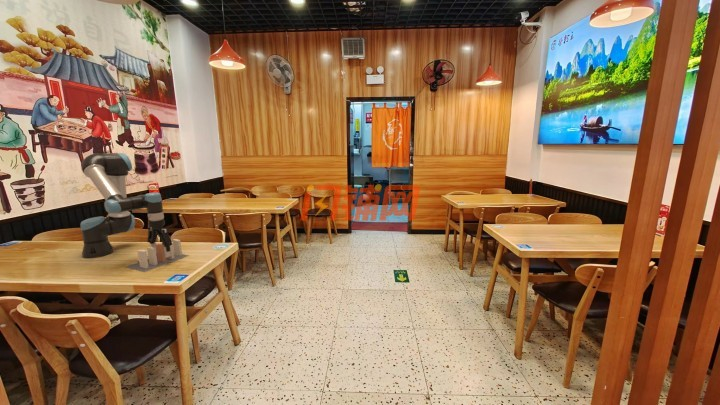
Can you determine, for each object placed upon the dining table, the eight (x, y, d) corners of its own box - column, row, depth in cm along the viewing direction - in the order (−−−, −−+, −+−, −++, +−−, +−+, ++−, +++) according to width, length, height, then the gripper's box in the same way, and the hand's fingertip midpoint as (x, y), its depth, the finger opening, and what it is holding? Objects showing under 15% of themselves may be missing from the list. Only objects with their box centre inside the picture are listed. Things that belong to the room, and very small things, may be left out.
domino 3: (160, 259, 174) (158, 244, 172) (166, 261, 172) (164, 245, 170) (158, 260, 173) (155, 244, 171) (163, 262, 171) (161, 245, 169)
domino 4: (171, 259, 175) (169, 243, 173) (166, 257, 177) (164, 242, 175) (174, 258, 177) (172, 242, 175) (169, 257, 179) (166, 241, 177)
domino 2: (154, 265, 166) (152, 248, 164) (149, 263, 168) (146, 247, 166) (157, 264, 168) (155, 247, 166) (152, 262, 170) (149, 246, 168)
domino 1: (145, 268, 162) (143, 251, 160) (140, 267, 164) (137, 250, 162) (148, 267, 163) (146, 250, 161) (143, 266, 165) (140, 249, 163)
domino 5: (179, 256, 180) (177, 240, 178) (174, 255, 182) (172, 239, 180) (182, 255, 181) (180, 240, 179) (176, 254, 183) (174, 239, 181)
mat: (124, 268, 164) (124, 267, 164) (170, 252, 188) (170, 251, 188) (144, 273, 157) (144, 272, 157) (189, 256, 181) (189, 255, 181)
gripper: (136, 219, 169) (142, 254, 173) (163, 223, 160) (168, 260, 164) (150, 216, 175) (155, 250, 180) (176, 219, 166) (180, 255, 171)
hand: (161, 255), depth 172 cm, fingers open, 11 cm apart
